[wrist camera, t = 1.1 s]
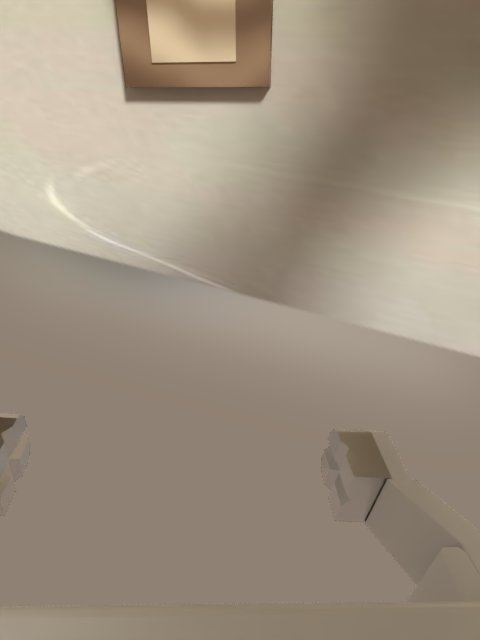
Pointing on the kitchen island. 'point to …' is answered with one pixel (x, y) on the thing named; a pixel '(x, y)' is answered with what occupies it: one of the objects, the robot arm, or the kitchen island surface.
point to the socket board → (196, 42)
